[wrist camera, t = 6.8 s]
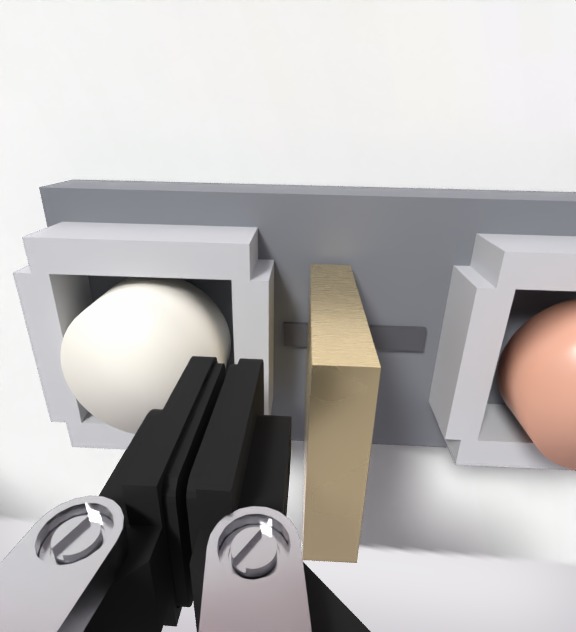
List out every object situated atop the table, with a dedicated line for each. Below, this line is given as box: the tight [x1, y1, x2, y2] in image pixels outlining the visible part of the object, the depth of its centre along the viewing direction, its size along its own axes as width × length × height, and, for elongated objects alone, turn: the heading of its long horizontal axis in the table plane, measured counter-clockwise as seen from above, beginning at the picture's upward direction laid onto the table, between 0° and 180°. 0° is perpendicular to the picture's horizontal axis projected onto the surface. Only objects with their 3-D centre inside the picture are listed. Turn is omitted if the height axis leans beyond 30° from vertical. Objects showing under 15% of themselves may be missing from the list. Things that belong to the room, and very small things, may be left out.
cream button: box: [60, 277, 231, 434], centre depth 13 cm, size 4×4×2 cm
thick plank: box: [302, 264, 381, 563], centre depth 11 cm, size 1×5×6 cm, turn 179°
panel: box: [13, 180, 576, 470], centre depth 14 cm, size 20×9×4 cm, turn 89°
